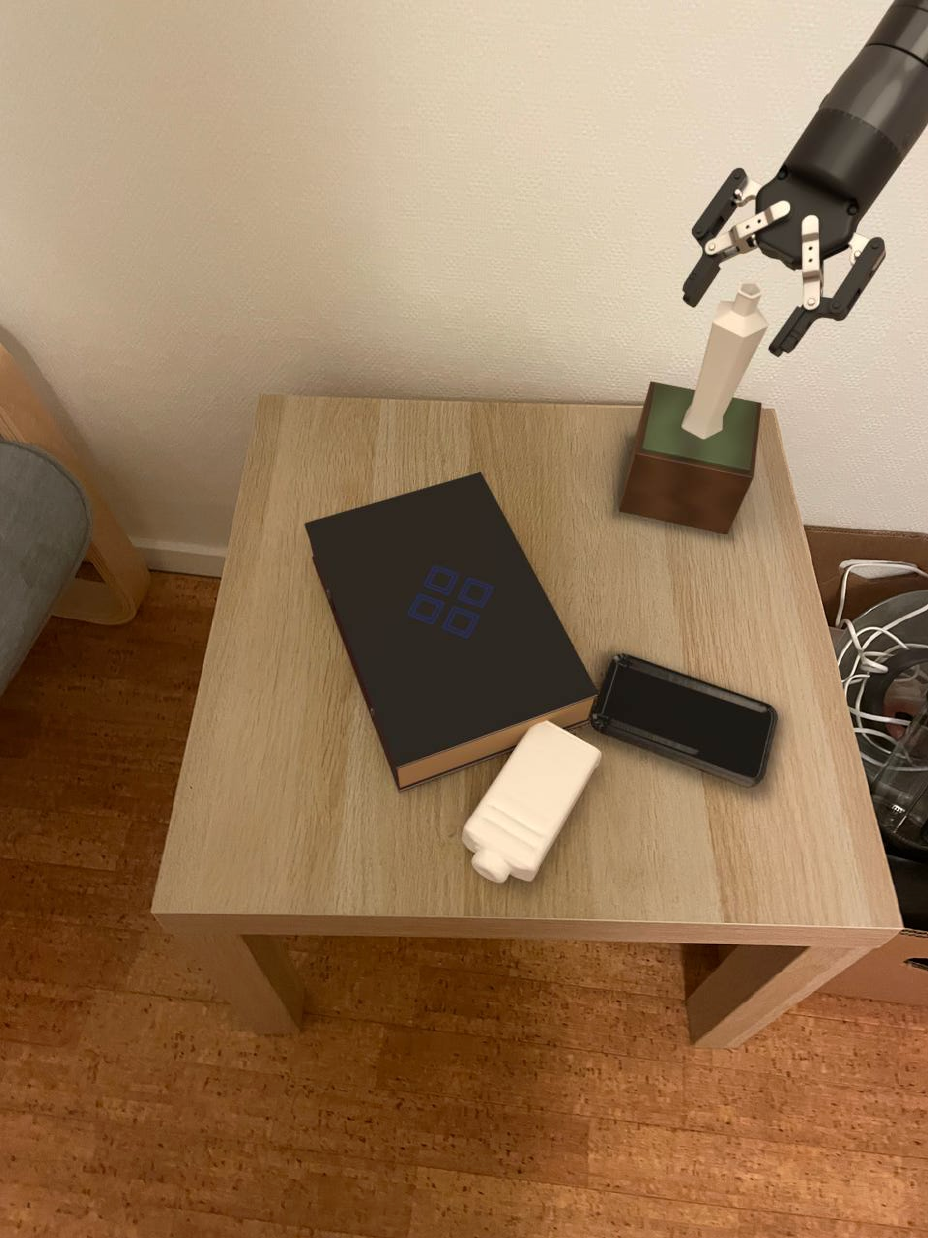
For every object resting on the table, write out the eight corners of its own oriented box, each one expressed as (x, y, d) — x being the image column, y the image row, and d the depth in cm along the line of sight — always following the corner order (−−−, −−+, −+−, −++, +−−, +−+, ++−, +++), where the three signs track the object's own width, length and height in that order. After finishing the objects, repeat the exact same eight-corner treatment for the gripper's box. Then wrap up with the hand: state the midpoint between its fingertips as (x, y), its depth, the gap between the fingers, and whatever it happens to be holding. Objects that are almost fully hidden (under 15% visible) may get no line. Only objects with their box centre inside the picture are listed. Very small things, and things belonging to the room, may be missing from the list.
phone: (615, 649, 76) (780, 708, 73) (613, 655, 77) (776, 713, 74) (588, 723, 72) (761, 788, 70) (586, 729, 73) (757, 792, 70)
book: (399, 796, 70) (395, 766, 64) (313, 565, 82) (303, 522, 76) (587, 726, 73) (599, 692, 68) (478, 514, 85) (481, 470, 80)
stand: (736, 462, 90) (763, 399, 82) (727, 534, 85) (755, 474, 77) (633, 441, 91) (651, 377, 83) (619, 511, 86) (636, 450, 78)
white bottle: (449, 859, 67) (449, 843, 63) (529, 732, 73) (534, 711, 69) (520, 904, 65) (524, 891, 62) (596, 770, 71) (605, 751, 67)
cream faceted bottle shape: (721, 447, 79) (775, 314, 66) (675, 434, 80) (719, 300, 67) (731, 414, 81) (784, 279, 68) (686, 401, 82) (731, 266, 69)
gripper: (945, 193, 65) (808, 380, 70) (788, 119, 70) (672, 299, 75) (947, 151, 58) (796, 361, 64) (773, 73, 63) (647, 274, 69)
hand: (729, 327), depth 70 cm, fingers open, 8 cm apart
